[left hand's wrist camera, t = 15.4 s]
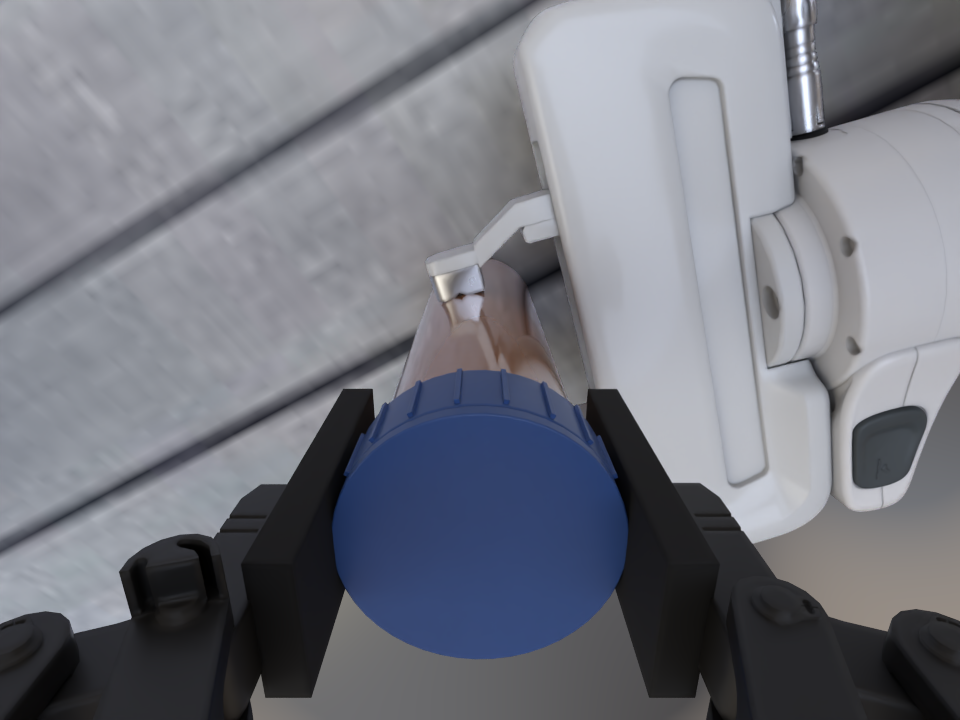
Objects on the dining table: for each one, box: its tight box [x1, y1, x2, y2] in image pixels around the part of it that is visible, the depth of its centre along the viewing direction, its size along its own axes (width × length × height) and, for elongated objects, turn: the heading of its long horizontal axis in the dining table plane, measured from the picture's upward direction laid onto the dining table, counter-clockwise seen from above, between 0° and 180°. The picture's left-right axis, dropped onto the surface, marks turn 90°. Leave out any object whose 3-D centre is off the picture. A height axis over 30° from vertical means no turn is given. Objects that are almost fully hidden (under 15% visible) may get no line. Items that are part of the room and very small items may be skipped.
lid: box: [332, 368, 628, 659], centre depth 11 cm, size 6×6×2 cm
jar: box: [392, 259, 568, 401], centre depth 19 cm, size 5×5×17 cm
